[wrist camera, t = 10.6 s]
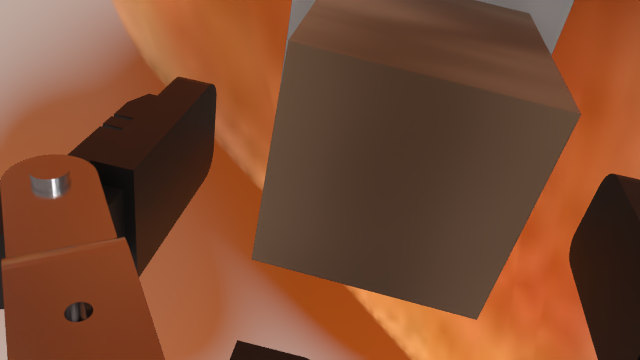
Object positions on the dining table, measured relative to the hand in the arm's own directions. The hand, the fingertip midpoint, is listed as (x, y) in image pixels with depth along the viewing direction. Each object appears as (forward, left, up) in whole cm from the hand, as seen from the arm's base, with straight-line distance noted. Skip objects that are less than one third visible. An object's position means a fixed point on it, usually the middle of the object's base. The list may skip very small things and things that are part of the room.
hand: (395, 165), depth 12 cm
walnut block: (0, 0, -5) cm, 5 cm away
